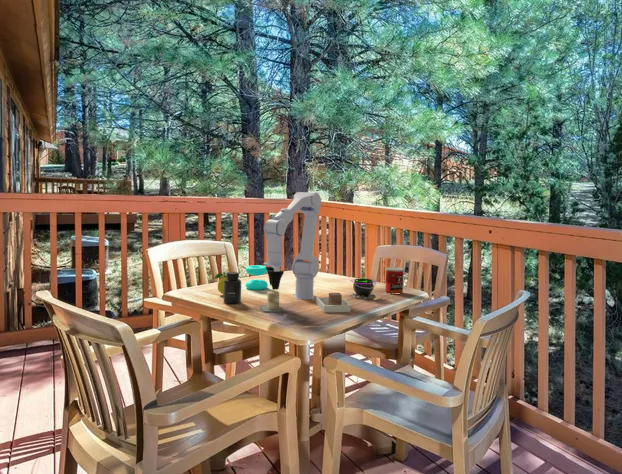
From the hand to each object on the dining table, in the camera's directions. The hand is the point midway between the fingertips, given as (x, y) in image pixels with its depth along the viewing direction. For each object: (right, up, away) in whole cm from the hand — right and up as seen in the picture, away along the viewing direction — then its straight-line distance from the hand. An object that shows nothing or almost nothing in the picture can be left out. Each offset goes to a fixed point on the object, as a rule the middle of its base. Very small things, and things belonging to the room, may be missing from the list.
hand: (274, 287), depth 190 cm
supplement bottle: (-17, -7, +10) cm, 21 cm away
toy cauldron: (+36, -7, +24) cm, 44 cm away
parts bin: (+22, -9, +3) cm, 24 cm away
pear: (-23, -6, +23) cm, 33 cm away
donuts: (-11, -5, +38) cm, 40 cm away
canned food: (+51, -6, +35) cm, 62 cm away
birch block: (0, -8, +1) cm, 8 cm away
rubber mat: (0, -8, +1) cm, 8 cm away
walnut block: (+23, -8, 0) cm, 24 cm away
